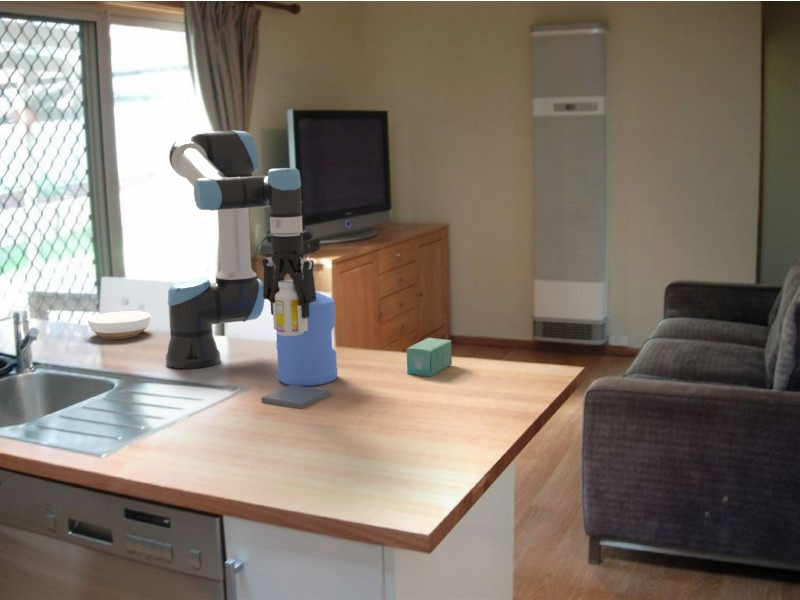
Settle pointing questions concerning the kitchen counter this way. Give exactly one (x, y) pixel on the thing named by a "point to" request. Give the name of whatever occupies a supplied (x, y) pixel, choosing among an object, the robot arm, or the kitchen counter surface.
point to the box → (429, 357)
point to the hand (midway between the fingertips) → (290, 329)
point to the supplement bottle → (287, 309)
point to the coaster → (296, 396)
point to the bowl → (119, 324)
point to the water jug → (310, 348)
